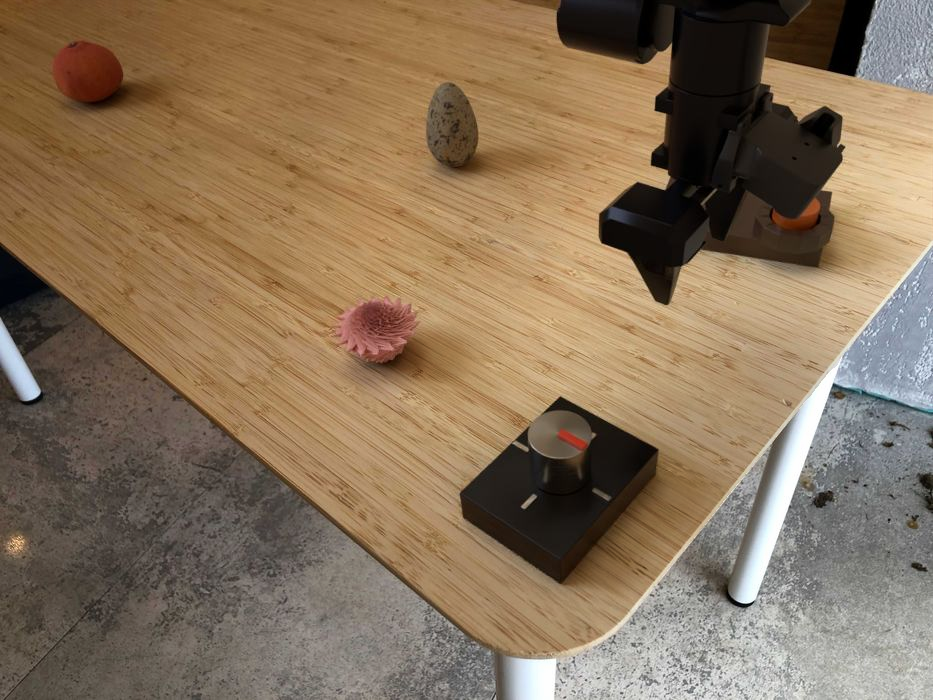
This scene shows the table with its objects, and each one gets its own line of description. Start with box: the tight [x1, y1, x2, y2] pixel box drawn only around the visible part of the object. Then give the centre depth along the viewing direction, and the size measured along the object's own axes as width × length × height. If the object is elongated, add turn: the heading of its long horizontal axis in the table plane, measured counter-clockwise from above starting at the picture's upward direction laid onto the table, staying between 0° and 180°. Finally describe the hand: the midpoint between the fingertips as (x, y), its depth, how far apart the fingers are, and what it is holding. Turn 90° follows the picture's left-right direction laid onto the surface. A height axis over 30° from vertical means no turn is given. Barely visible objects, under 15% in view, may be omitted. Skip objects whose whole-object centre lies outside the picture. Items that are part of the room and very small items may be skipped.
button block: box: [664, 176, 836, 268], centre depth 84 cm, size 16×12×4 cm
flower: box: [328, 294, 421, 364], centre depth 75 cm, size 8×8×6 cm
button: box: [772, 198, 820, 231], centre depth 79 cm, size 4×4×2 cm
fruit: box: [51, 39, 124, 103], centre depth 118 cm, size 9×9×8 cm
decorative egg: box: [425, 81, 479, 168], centre depth 96 cm, size 6×6×10 cm
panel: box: [459, 396, 660, 585], centre depth 62 cm, size 12×9×3 cm
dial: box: [528, 410, 592, 495], centre depth 60 cm, size 4×4×4 cm
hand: (691, 269), depth 65 cm, fingers open, 9 cm apart
